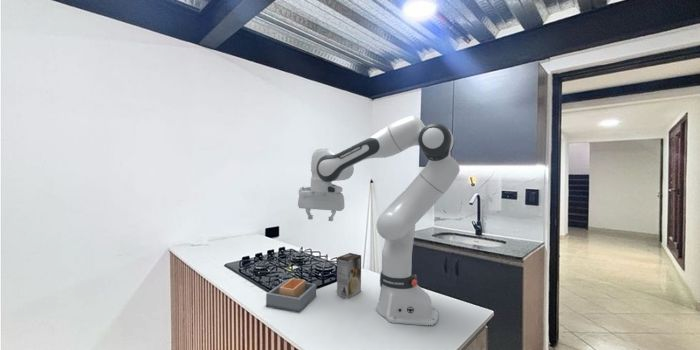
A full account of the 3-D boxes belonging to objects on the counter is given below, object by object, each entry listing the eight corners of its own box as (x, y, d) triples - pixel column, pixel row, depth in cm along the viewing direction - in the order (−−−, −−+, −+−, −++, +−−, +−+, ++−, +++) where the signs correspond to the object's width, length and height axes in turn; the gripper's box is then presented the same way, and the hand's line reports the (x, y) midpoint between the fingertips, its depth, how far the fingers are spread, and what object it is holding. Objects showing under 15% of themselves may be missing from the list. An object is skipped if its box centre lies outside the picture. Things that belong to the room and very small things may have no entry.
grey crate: (316, 296, 118) (316, 284, 118) (299, 313, 103) (299, 299, 103) (286, 291, 122) (286, 279, 122) (266, 306, 107) (266, 293, 107)
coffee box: (349, 288, 126) (350, 252, 126) (361, 292, 122) (362, 255, 122) (336, 295, 119) (336, 257, 119) (348, 299, 115) (349, 260, 115)
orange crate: (305, 294, 116) (305, 280, 116) (293, 305, 107) (293, 289, 107) (292, 292, 118) (292, 278, 118) (279, 303, 109) (279, 287, 109)
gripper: (295, 186, 120) (294, 219, 120) (341, 188, 114) (340, 223, 114) (302, 186, 126) (301, 217, 126) (346, 188, 120) (345, 220, 120)
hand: (320, 220), depth 120 cm, fingers open, 8 cm apart
